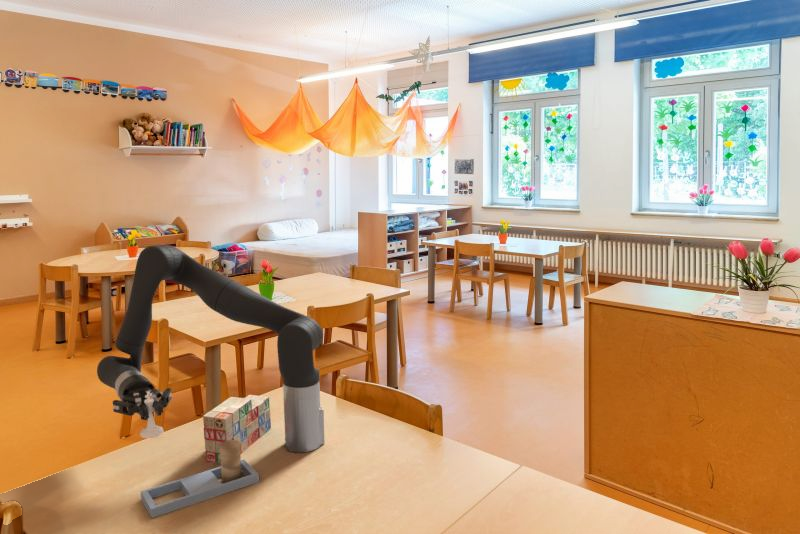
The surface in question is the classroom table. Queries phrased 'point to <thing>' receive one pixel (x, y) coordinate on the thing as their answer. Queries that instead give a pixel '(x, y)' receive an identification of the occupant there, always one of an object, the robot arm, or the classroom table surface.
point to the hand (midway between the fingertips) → (153, 412)
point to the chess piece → (150, 420)
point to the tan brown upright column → (230, 460)
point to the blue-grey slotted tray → (196, 489)
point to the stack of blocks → (235, 424)
